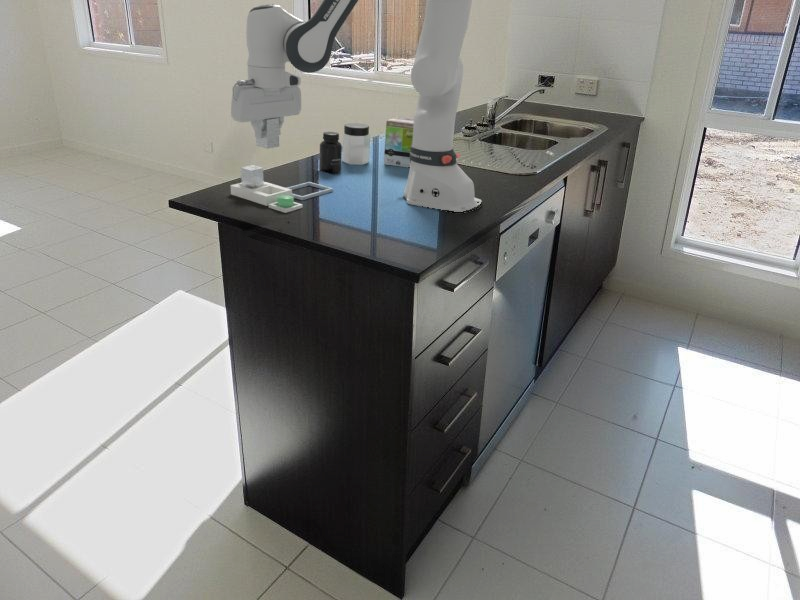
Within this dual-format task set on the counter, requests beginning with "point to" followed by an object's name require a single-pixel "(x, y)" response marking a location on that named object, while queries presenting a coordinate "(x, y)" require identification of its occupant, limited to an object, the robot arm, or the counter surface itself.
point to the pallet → (261, 193)
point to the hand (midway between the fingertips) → (268, 136)
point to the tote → (325, 190)
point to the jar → (356, 144)
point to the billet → (269, 133)
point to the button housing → (285, 210)
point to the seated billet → (252, 177)
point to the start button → (285, 201)
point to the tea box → (398, 141)
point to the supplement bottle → (330, 153)
